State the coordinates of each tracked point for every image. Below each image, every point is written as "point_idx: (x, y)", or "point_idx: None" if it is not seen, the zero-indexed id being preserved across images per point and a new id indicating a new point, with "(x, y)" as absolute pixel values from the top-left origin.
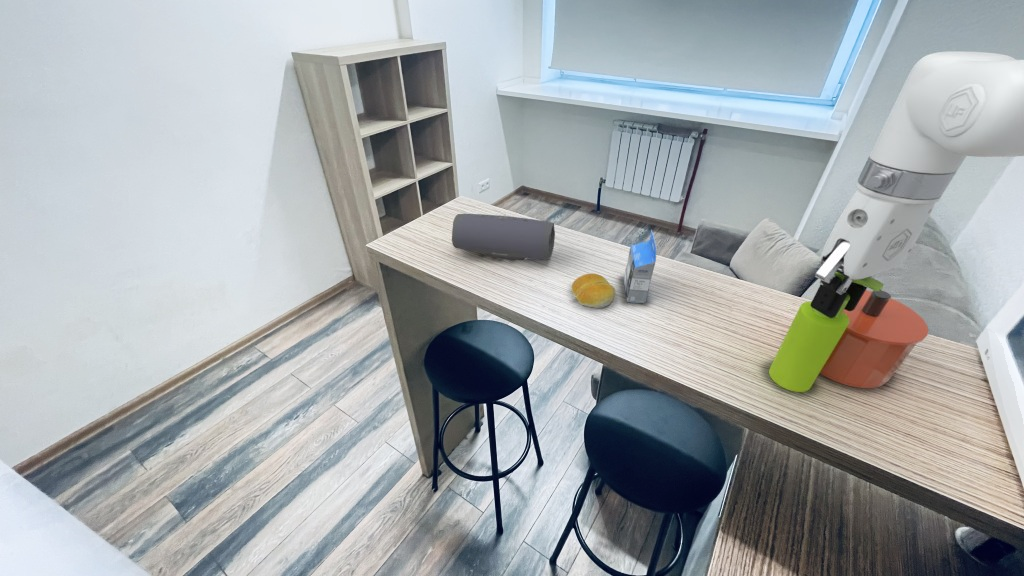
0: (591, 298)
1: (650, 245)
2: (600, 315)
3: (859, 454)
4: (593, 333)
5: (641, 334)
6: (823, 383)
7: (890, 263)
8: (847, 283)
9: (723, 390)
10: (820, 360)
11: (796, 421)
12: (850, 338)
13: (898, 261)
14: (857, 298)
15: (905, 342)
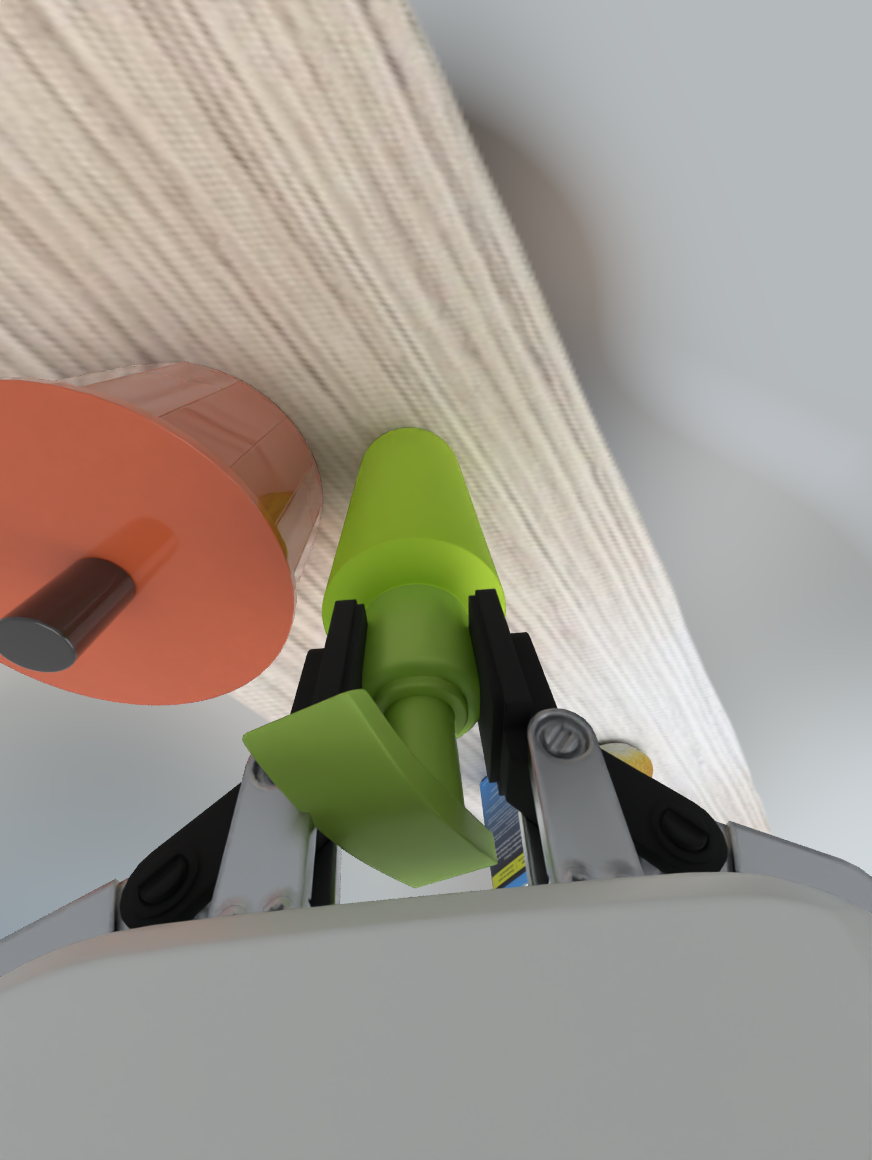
0: (646, 767)
1: (510, 885)
2: (632, 727)
3: (468, 167)
4: (686, 695)
5: (607, 673)
6: (336, 432)
7: (289, 1119)
8: (586, 799)
9: (597, 500)
10: (428, 468)
11: (525, 352)
12: (269, 507)
13: (74, 1114)
14: (347, 657)
15: (85, 395)
